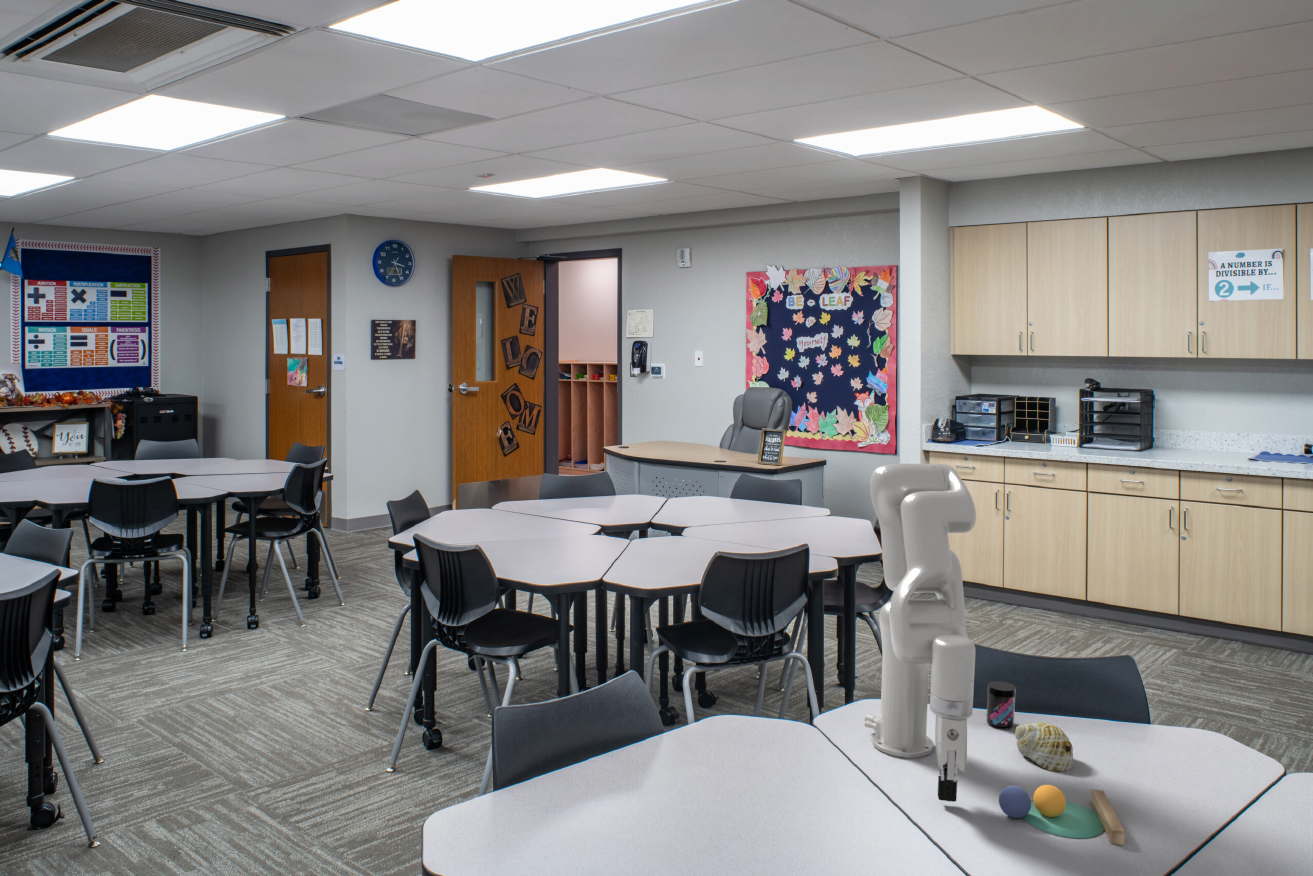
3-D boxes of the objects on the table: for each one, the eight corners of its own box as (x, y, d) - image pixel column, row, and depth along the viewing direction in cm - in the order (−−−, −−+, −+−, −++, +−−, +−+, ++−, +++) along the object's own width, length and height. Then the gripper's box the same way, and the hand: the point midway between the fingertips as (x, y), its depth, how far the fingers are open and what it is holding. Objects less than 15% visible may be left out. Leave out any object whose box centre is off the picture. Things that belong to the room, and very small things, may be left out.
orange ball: (1077, 800, 170) (1063, 825, 171) (1056, 781, 175) (1041, 805, 176) (1057, 796, 168) (1042, 821, 169) (1035, 776, 173) (1021, 801, 173)
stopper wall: (1111, 844, 163) (1112, 830, 162) (1090, 802, 177) (1091, 789, 177) (1123, 845, 162) (1124, 831, 162) (1102, 803, 177) (1103, 790, 176)
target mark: (1027, 833, 166) (1027, 832, 166) (1015, 795, 179) (1015, 794, 179) (1113, 843, 163) (1113, 841, 163) (1094, 803, 176) (1094, 802, 176)
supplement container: (982, 725, 212) (984, 686, 211) (990, 717, 216) (992, 679, 215) (1009, 732, 208) (1011, 693, 207) (1017, 724, 213) (1019, 685, 212)
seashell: (1085, 770, 189) (1063, 725, 188) (1036, 788, 191) (1014, 743, 190) (1070, 745, 199) (1050, 702, 198) (1024, 762, 201) (1004, 720, 200)
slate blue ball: (1010, 829, 171) (989, 805, 171) (1016, 808, 175) (995, 785, 175) (1034, 819, 167) (1012, 795, 168) (1040, 798, 171) (1018, 775, 172)
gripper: (977, 721, 165) (972, 821, 167) (968, 690, 180) (963, 782, 182) (932, 717, 167) (928, 816, 169) (927, 687, 181) (923, 778, 183)
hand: (946, 798), depth 175 cm, fingers closed
